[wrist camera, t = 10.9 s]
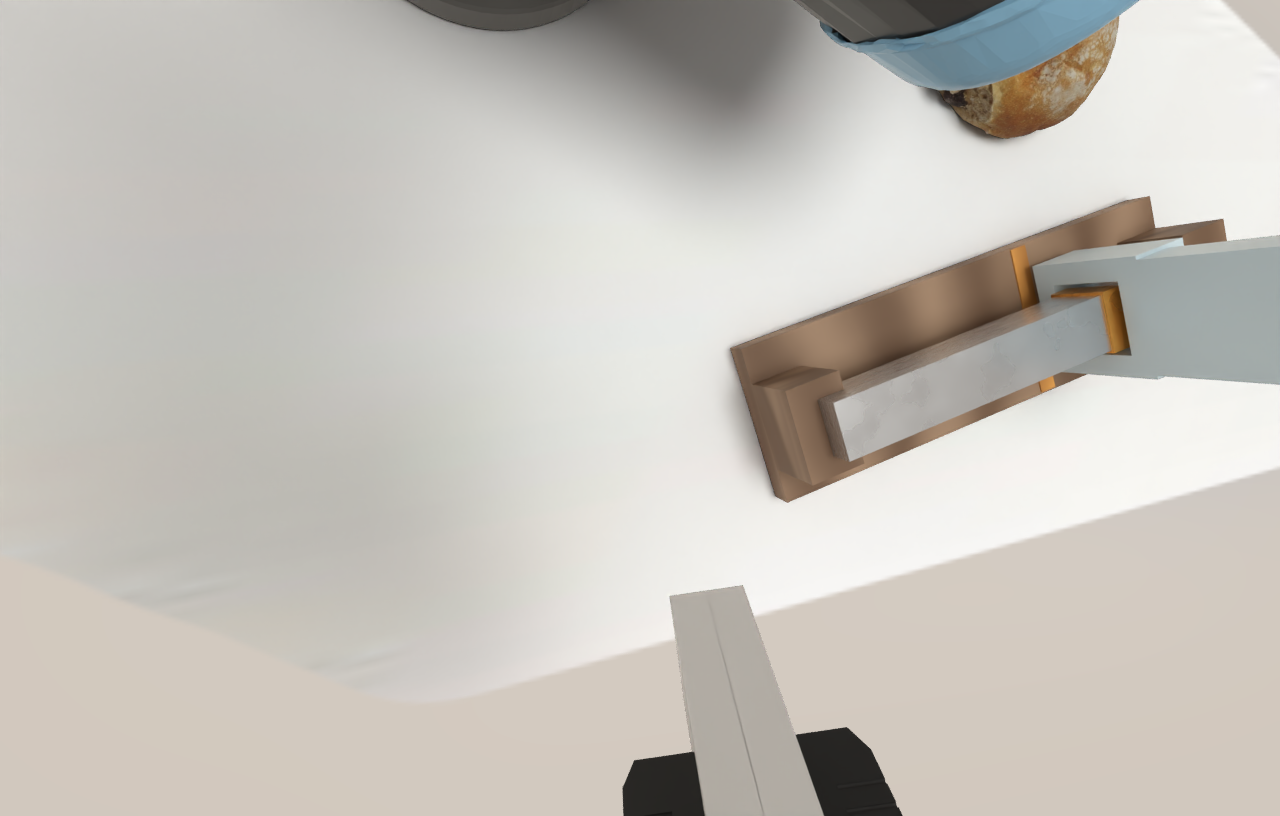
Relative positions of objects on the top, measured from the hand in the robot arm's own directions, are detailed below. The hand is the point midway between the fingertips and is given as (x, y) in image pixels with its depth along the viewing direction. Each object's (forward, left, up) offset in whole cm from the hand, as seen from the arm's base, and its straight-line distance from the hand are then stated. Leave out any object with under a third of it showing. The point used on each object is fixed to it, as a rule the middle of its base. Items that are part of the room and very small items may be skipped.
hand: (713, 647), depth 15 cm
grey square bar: (-9, +24, -20) cm, 32 cm away
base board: (-9, +24, -24) cm, 34 cm away
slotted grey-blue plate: (-11, +28, -21) cm, 37 cm away
